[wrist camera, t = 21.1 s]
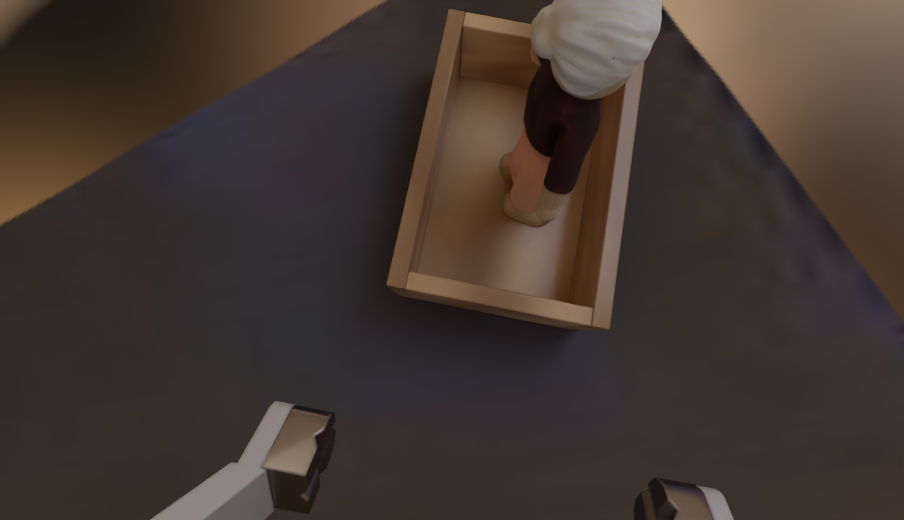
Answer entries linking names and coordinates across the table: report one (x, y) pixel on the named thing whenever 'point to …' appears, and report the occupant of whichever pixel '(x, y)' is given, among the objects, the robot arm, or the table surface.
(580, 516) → the table surface
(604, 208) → the holder
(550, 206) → the grandmother figurine
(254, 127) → the table surface
